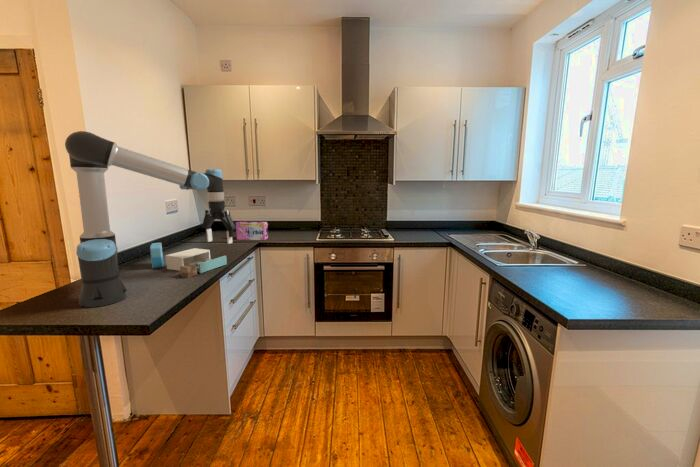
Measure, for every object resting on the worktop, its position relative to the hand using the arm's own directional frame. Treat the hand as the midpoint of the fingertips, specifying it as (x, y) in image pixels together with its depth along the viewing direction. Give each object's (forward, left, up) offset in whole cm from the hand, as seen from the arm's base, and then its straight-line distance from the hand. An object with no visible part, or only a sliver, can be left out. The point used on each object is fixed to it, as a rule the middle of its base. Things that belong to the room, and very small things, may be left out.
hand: (219, 242), depth 159 cm
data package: (-11, +34, -9) cm, 37 cm away
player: (0, +23, -15) cm, 27 cm away
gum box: (+73, +41, -15) cm, 85 cm away
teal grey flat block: (0, +11, -14) cm, 18 cm away
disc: (0, +12, -13) cm, 18 cm away
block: (-13, +8, -15) cm, 21 cm away
